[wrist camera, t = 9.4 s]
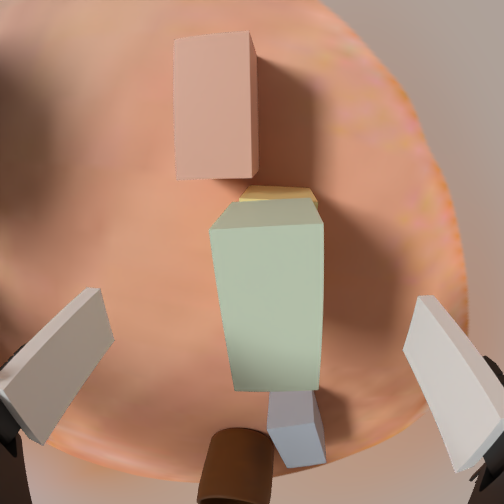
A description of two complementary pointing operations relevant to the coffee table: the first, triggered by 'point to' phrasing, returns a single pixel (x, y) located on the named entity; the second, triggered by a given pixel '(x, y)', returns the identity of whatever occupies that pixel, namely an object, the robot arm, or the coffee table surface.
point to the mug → (237, 468)
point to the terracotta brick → (215, 106)
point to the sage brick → (271, 292)
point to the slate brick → (296, 428)
